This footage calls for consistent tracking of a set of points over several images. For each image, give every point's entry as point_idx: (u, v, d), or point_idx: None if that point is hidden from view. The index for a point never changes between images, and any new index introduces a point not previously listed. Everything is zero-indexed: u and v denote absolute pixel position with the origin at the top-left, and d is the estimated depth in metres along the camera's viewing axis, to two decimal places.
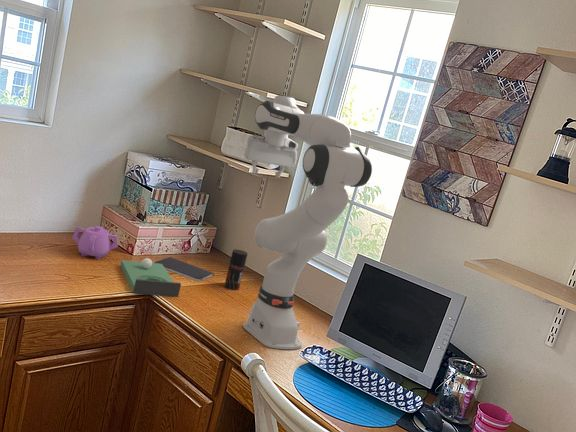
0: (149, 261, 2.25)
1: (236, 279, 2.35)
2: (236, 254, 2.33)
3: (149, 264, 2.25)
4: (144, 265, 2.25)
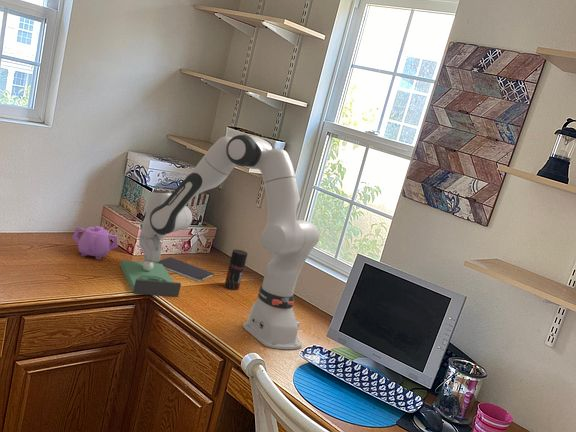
0: (149, 269, 2.23)
1: (236, 279, 2.35)
2: (236, 254, 2.33)
3: (149, 270, 2.24)
4: (144, 269, 2.24)
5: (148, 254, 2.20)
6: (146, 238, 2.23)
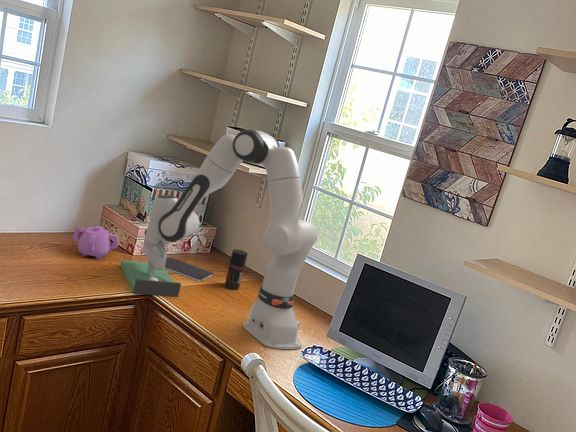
0: None
1: (236, 279, 2.35)
2: (236, 254, 2.33)
3: None
4: None
5: (153, 261, 2.13)
6: (151, 244, 2.16)
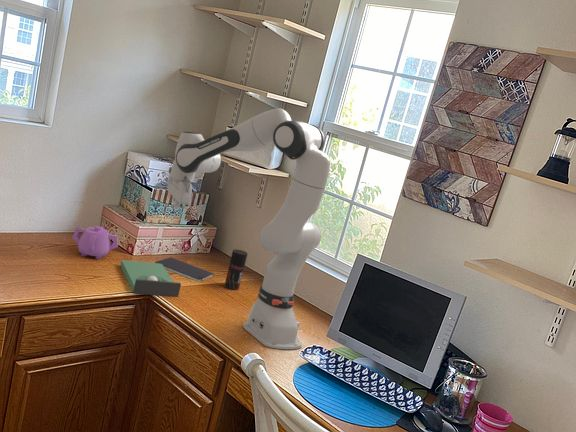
0: (155, 280, 2.15)
1: (236, 279, 2.35)
2: (236, 254, 2.33)
3: None
4: None
5: (178, 196, 2.16)
6: (176, 180, 2.19)
